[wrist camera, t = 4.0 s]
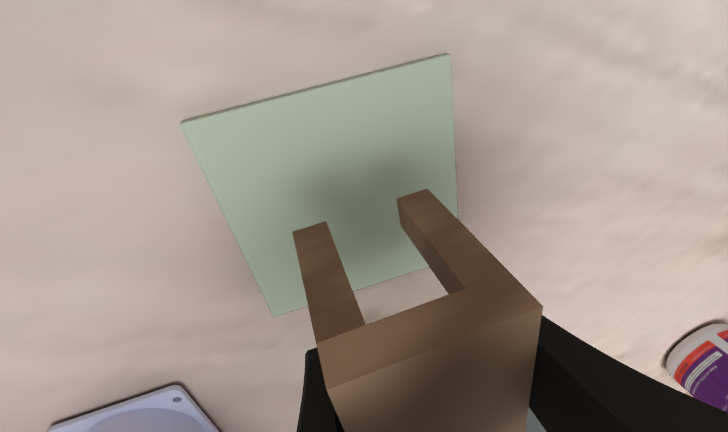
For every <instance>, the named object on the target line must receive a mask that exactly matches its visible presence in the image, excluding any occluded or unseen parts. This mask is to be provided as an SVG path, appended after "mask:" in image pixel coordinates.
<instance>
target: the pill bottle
mask: <svg viewBox="0 0 728 432" xmlns="http://www.w3.org/2000/svg"><path fill="white" fill-rule="evenodd" d="M666 368H667V371H668V373H669V375H670V376H671V377H672V378H673V379H674V380H675V381H676V382H678V383H679V384H680V385H681V386H682V387H683V388H684V389H685V390H687V391H688V392H689V393H690V394H691V395H692V396H693V397H694V398H696V399H698V400H700V401H703V402H705V403H707V404H709V405H712V406H714V407H716V408H719V409H721V410H723V411H726V412H728V324H711V325H708V326H705V327H703V328H701V329H699V330H697V331H695V332H694V333H692V334H690V335H689V336H688V337H686V338H685V339H683V340H682V341H681V342H680V343H679V344H678V345H677V346H676V347H675V348H674V349H673V350H672V351H671V353H670V354H669V356H668V359H667V363H666Z"/></svg>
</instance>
